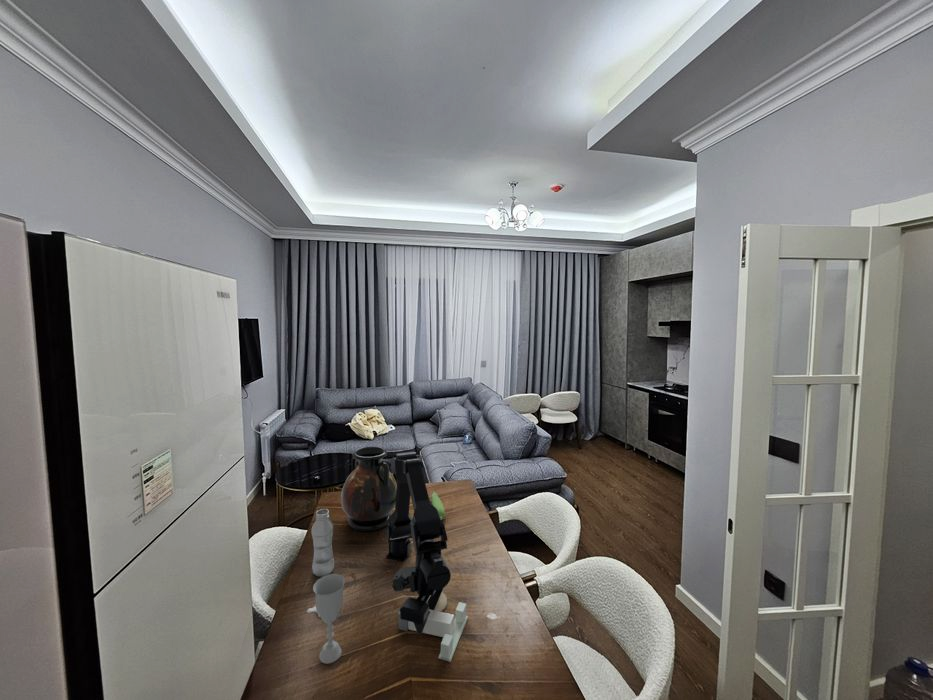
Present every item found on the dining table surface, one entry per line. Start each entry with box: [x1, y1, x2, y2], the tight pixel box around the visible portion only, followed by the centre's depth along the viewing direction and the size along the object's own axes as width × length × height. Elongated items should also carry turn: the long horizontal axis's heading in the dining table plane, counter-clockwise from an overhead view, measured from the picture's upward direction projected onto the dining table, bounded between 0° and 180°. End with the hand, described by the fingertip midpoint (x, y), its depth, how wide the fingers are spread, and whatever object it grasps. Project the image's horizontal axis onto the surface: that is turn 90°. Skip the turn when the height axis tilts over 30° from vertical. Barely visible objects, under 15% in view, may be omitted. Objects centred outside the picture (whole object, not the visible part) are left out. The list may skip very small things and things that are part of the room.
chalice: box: [312, 573, 346, 664], centre depth 93 cm, size 7×7×18 cm
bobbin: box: [427, 591, 448, 612], centre depth 111 cm, size 8×8×7 cm
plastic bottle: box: [310, 508, 335, 578], centre depth 122 cm, size 6×7×20 cm
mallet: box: [397, 609, 455, 638], centre depth 102 cm, size 14×4×4 cm, turn 73°
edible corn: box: [429, 491, 446, 521], centre depth 162 cm, size 5×20×5 cm
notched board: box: [438, 601, 469, 663], centre depth 99 cm, size 3×14×4 cm, turn 163°
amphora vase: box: [340, 446, 397, 532], centre depth 151 cm, size 22×22×28 cm
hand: (425, 622), depth 101 cm, fingers open, 7 cm apart
